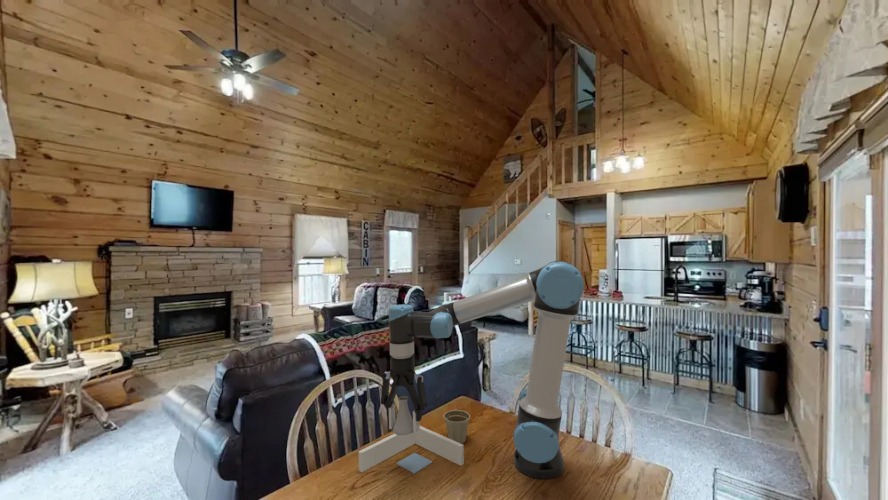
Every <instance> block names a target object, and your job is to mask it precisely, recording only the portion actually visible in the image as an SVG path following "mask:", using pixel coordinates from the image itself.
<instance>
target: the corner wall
mask: <svg viewBox="0 0 888 500" xmlns="http://www.w3.org/2000/svg"><path fill="white" fill-rule="evenodd" d="M419 428H420V429H419V431H418V432H417V433H410V434H408V435H396V434H395V433H393V434H391V435H389V436H387V437H385V438H382V439H380V440H379V441H376V442H375V443H372V444H370V445H369V446H367V447H364V448H362V449H361V450H358V471H359V472H360V473H363V472H365V471H367V470H369V469H371V468H373V467H374V466H377V465H379V464H381V463H382V462H384V461H386V460H388V459H389V458H391V457H393V456H395V455H397V454H398V453H400V452H402V451H404V450H405V449H408V448H409V447H411V446H413V445H417V446H419V447H421V448H423V449H425V450H428V451H429V452H432V453H433V454H436V455H438V456H440V457H442V458H444V459H446V460H448V461H450V462H452V463H454V464H455V465H458V466H463V465H464V463H465V461H464V459H465V456H464V455H465V453H464V448H465V445H464V443H461V444H460V443H458V442H456V441H454V440H451V439H449V438H448V436H445V435H442V434H441V433H440V434H439V433H438V432H435V431H433V430H430V429H428V428H426V427H424V426H422V425H419Z"/></svg>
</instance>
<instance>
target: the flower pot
mask: <svg viewBox="0 0 888 500" xmlns="http://www.w3.org/2000/svg"><path fill="white" fill-rule="evenodd" d="M443 419H444V422H445V426H446V431H447V438H449V439H451V440H454V441H456V442H458V443H460V444H464V443H466V442H465V441H466V439H467V435H468V434H467V433H468V432H467V431H468V426H469V425H468V424H469V421H470V419H471V415H470V414H469V412H467V411H465V410H460V409H459V410H458V409H453V410H448V411H447V412H444V414H443Z"/></svg>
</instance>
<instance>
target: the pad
mask: <svg viewBox="0 0 888 500" xmlns="http://www.w3.org/2000/svg"><path fill="white" fill-rule="evenodd" d="M432 463H433V461H432V460H430V459H429V458H427V457H424V456H422V455H420V454H418V453H417V452H413V453H412V454H409V455H408V456H406V457H404V458H403V459H401V460H400V461H397V462H396V465H398V466H399V467H401V468H402V469H405V470H406V471H408V472H409V473H411V474H413V475H415V474H416V473H418V472H420V471H421V470H422V469H424V468H426V467H428V466H429V465H431V464H432Z"/></svg>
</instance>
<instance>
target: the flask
mask: <svg viewBox="0 0 888 500" xmlns="http://www.w3.org/2000/svg"><path fill="white" fill-rule="evenodd" d="M408 400H409V396H405V395H404V396H402V395H401V396H399V397H398V398H397V401H398V411H397V415H396V417H395V419H396V421H395V424H394V427H393V428H392V430H391V431H392V433H393V434H396V435H408V434H410V433H413V417H412V415H411V413H410V409H409V405H408Z"/></svg>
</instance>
